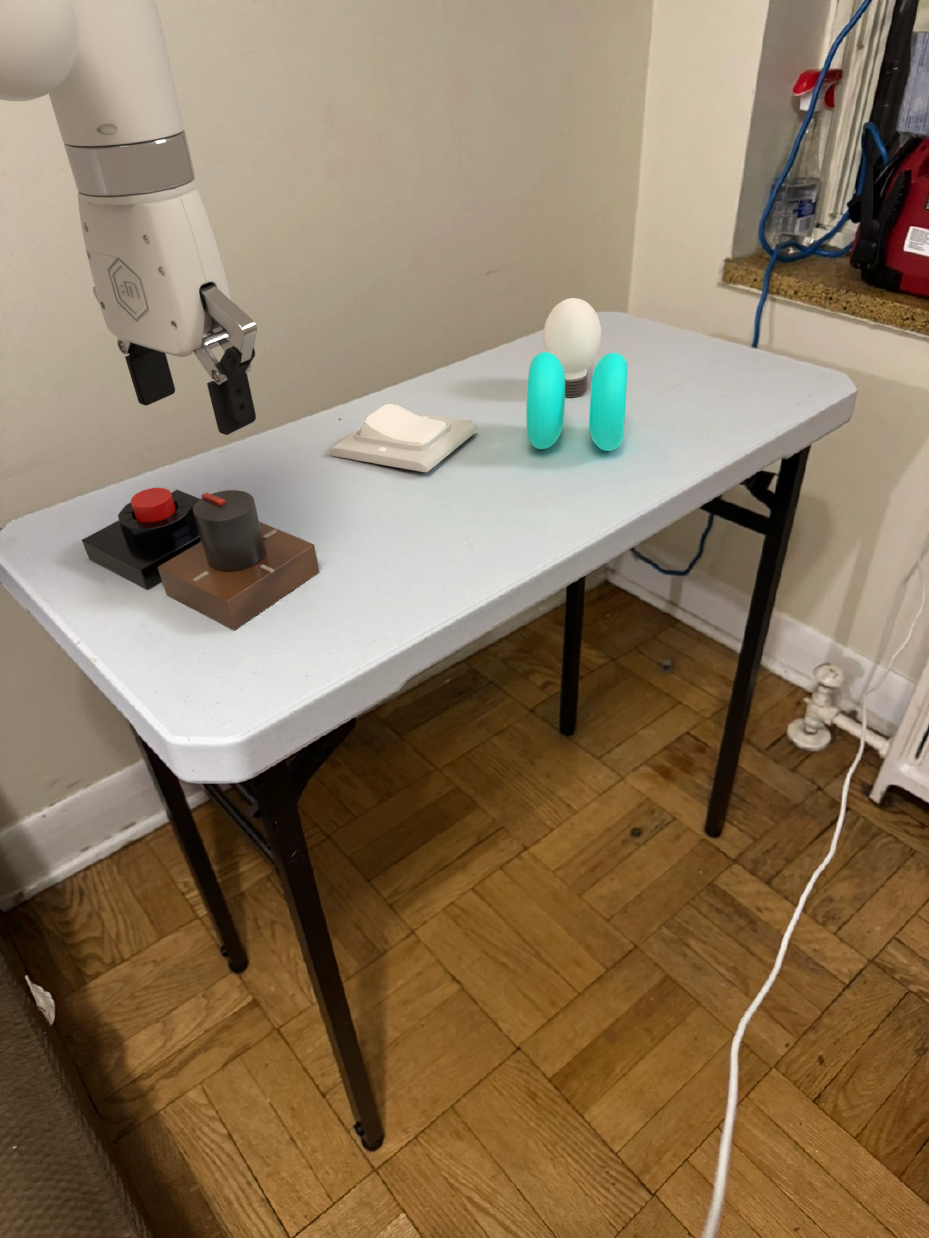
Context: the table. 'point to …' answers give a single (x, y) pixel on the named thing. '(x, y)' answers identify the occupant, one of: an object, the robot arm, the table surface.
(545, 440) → the donuts
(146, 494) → the power button
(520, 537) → the table surface
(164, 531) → the switch block
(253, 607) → the dimmer panel
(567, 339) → the light bulb
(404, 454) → the light switch
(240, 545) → the dimmer knob
